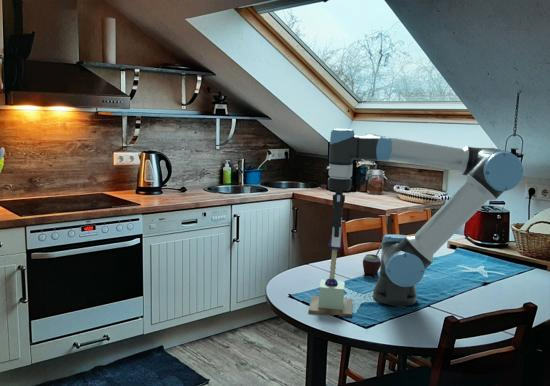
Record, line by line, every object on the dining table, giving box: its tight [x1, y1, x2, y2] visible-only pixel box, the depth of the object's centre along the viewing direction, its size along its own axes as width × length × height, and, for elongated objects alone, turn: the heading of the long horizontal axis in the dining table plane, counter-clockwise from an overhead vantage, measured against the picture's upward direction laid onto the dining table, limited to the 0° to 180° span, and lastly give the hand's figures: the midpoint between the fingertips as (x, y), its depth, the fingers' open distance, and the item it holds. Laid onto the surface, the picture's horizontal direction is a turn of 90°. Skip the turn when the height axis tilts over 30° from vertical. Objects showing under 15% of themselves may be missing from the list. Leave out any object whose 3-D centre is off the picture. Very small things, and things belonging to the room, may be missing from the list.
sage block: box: [318, 279, 346, 310], centre depth 182 cm, size 8×8×7 cm
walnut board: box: [308, 294, 353, 318], centre depth 183 cm, size 14×14×1 cm
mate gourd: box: [362, 243, 382, 279], centre depth 218 cm, size 8×8×15 cm
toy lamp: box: [325, 235, 343, 286], centre depth 180 cm, size 5×5×17 cm
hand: (336, 241), depth 179 cm, fingers open, 13 cm apart
